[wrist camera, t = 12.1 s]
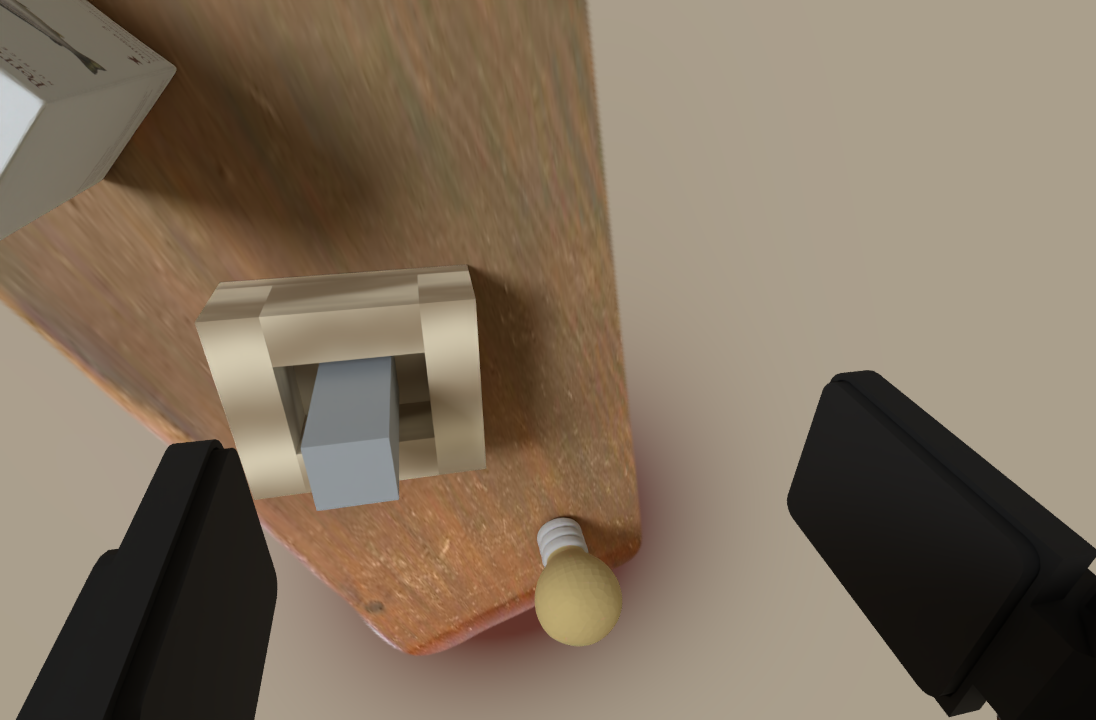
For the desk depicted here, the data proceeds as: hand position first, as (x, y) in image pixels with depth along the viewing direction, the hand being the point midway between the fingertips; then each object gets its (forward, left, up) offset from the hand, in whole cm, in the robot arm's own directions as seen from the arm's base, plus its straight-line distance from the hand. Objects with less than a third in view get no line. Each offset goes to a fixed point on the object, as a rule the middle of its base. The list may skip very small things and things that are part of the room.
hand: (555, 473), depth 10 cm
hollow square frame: (+13, -6, -27) cm, 31 cm away
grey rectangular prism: (+13, -6, -27) cm, 30 cm away
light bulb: (+31, +7, -28) cm, 42 cm away
